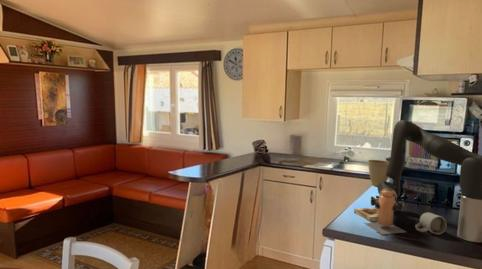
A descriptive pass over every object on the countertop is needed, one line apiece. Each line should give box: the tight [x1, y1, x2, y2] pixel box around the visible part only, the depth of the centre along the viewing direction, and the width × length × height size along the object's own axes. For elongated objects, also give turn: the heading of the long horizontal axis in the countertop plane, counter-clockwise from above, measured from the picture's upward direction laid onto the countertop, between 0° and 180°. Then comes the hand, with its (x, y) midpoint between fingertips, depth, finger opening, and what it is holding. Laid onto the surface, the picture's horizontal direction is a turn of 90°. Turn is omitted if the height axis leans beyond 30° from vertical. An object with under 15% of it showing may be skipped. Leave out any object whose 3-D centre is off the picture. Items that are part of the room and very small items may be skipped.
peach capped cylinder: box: [376, 190, 395, 226], centre depth 143 cm, size 7×6×14 cm
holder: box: [353, 207, 378, 223], centre depth 158 cm, size 12×12×2 cm
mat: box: [363, 221, 407, 236], centre depth 144 cm, size 12×12×1 cm
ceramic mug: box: [415, 212, 448, 235], centre depth 143 cm, size 11×8×8 cm
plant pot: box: [367, 159, 390, 188], centre depth 220 cm, size 15×15×16 cm
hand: (386, 207), depth 141 cm, fingers closed on peach capped cylinder, 6 cm apart
